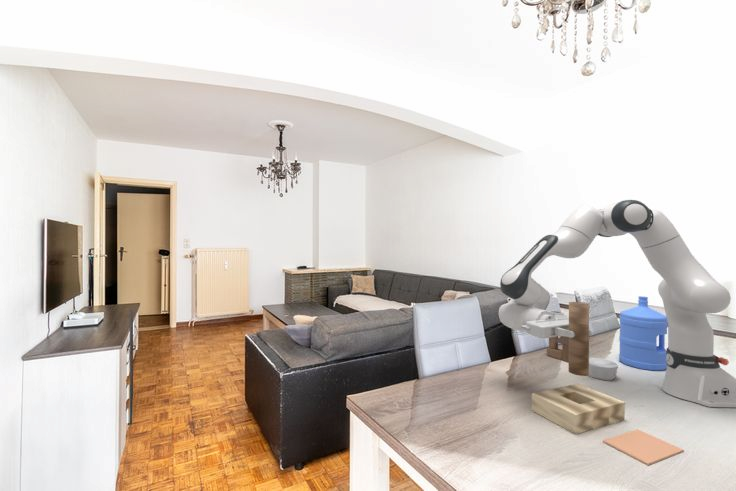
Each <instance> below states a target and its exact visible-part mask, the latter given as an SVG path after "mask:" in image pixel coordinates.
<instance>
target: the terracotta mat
mask: <svg viewBox="0 0 736 491" xmlns="http://www.w3.org/2000/svg"><path fill="white" fill-rule="evenodd" d="M602 443H604V444H606V445H607V446H610V447H611V448H614V449H616V450H618V451H619V452H621V453H623V454H625V455H627V456H628V457H629V456H630V458H633V459H634V460H637V461H639V462H640V463H642V464H644V465H646V466H650V465H653V464H656V463H658V462H661V461H663V460H666V459H668V458H671V457H673V456H676V455H679V454H681V453H684V451H685V450H684V449H682V448H680V447H679V446H675V445H674V444H671V443H669V442H667V441H665V440H663V439H661V438H658V437H656V436H654V435H651V434H649V433H647V432H645V431H642V430H640V429H638V428H637V429H634V430H631V431H628V432H624V433H621V434H619V435H615V436H612V437H609V438H606V439H604V440H602Z"/></svg>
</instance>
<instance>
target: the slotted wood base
mask: <svg viewBox="0 0 736 491" xmlns="http://www.w3.org/2000/svg"><path fill="white" fill-rule="evenodd" d="M625 404H626V402H625V401H624V400H621V399H618V398H616V397H613V396H611V395H607V394H606V393H603V392H600V391H598V390H595V389H593V388H591V387H588V386H586V385H583V384H580V383H575V384H571V385H570V384H569V385H565V386H560V387H556V388H555V387H554V388H552V389H547V390H542V391H537V392H532V393H531V411H532V412H534V413H535V412H536V414H538V415H539V416H541V417H543V418H545V419H547V420H548V421H551V422H552V423H554V424H556V425H557V426H560V428H561V427H562V428H564V429H565V430H566V431H569V432H571V433H573V434H575V435H578V434H581V433H584V432H588V431H591V430H594V429H595V430H596V429H598V428H602V427H605V426H608V425H613V424H615V423H618V422H622V421H625V418H626V416H625V414H626V413H625V412H626V406H625Z"/></svg>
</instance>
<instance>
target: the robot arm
mask: <svg viewBox="0 0 736 491" xmlns="http://www.w3.org/2000/svg"><path fill="white" fill-rule="evenodd" d="M626 234H629V235H631V236H633V238H634V239H635V240H636V241H637V244H638V246H639V248H640V249H641V250H642V252H643V254H644V256H645V258H646V259H647V261H648V263H649V264H650V266H651V268H652V269H653V270H654V271H655V272H656V273H658V275H659V276H660V277H661V278H662V280H661V281H660V282H659V284H658V287H657V291H658V292H657V293H658V294H659V296H660V298H661V300H662V304H663V308H664V312H665V316H666V317H667V322H668V326H667V340H668V341H667V342H668V343H667V344H668V345H667V347H666V363H667V368H666V369H665V370H666V371H665V374H664V375H665V376H664V378H663V379H664V380H663V383H662V386H661V390H662V391H663V392H665V393H666V394H668V395H671V396H672V397H673V396H674V397H676V398H679V399H680V400H681V399H682V400H685V401H688V402H692V403H693V402H694V403H697V404H700V405H703V406H704V407H710V408H736V377H734V376H733V375H732V374H730V373H729V372H727V370H725V369H723V368H722V367H721V366H720V364H721V365H723V366H728V365H729V364H730V361H729V360H728V359H727V358H725V357H719V356H717V355H715V354H714V346H715V345H714V340H715V339H714V335H715V332H714V329H713V327H712V326H711V324H710V322H709V319H708V318H707V314H717V313H721V312H723V311H724V310H726V309H727V308H728V307H729V305H730V304H731V299H732V298H731V293H730V292H729V290H728V289H727V288H726V287H725V285H723V284H721V283H720V282H718V281H717V280H716V279H715V277H713V275H711V274H710V273H709V272H708V270H707V269H706V268H705V267H704V266H703V265H702V264H701V263H700V262H699V261H698V260H697V258H695V256H694V255H693V254H692V252H691V251H690V249H689V247H688V246H687V244H686V242H685V241H684V239H683V238H682V236H681V234H680V233H679V231H678V229H676V226H675V225H674V224H673V223H672V222H671V221H670V219H669V218H668V217H667V216H666V215H665V214H664V213H663V212H662V211H660V210H658V209H657V210H656V209H651V208H649V207H648V206H647V205H646V204H645V203H643V202H642V201H639V200H636V199H624V200H621V201H618V202H615V203H611V204H609V205H607V206H605V207H602V208H600V209H597V208H595V207H593V206H590V205H589V206H588V205H584V206H583V205H582V206H580V207H578V208H576V209H575V210H574V211H573V212H572V213H571V214H570V215H568V217H567V218H566V219H565V220H564V221H563V222H562V224H560V226H559V228H557V230H556V231H555V232H554V233H552V234H547V235H545V236H543V237H542V238H541V239H539V240H538V241H537V242H536V243H535V244H534V245H533V246H532V247H531V248H530V249H529V250H528V251H527V252H526V254H524V256H522V257H521V258H520V259H519V261H518V262H517V263H516V264H515V265H514V266H513V267H510V269H508V270H507V271H505V273H504V274H502V276H501V278H500V284H499V286H500V290H501V291H500V292H501V293H502V294H504V295H505V296H506V297H508V298H510V299H511V300H510V301H509V302H507V303H504V304H502V305H500V306H499V308H498V317H499V318H498V319H499V320H500V322H501V323H502V324H503V325H504V326H506V327H507V328H509V329H512V330H515V331H518V332H524V333H526V334H527V335H531V336H532V337H536V338H538V339H549V338H551V337H558V338H559V337H561V336H566V337H570V338H573V337H576V332H575V331H573V330H569V314H568V315H567V314H565V312H562V311H554V310H553V311H552V310H551V311H550V310H547V308H548V306H549V303H550V302H551V301H550V299H551V296H550V292H549V291H548V290H547V289H546V288H545V287H543V286H542V285H541V284H540V283H539V282H537V281H536V280H534V279H533V277H532V274H533V272H535V270H536V269H537V268H538V267H539V266H541V264H542V263H543V262H544V261H545V260H546V259H548V258H549V257H551V256H556V257H558V258H559V257H560V258H563V259H575V258H579V257H581V256H582V255H583V254H585V253H586V251H587V250H588V249H589V248H590V246H591V244H592V243H593V241H594V240H595V239H596V237H597V236H599V237H601V238H602V237H603V238H611V237H619V236H624V235H626ZM591 335H592V329H591V328H589V336H591Z"/></svg>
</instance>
